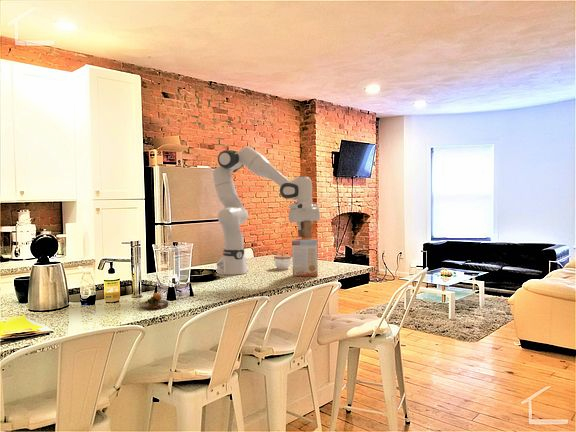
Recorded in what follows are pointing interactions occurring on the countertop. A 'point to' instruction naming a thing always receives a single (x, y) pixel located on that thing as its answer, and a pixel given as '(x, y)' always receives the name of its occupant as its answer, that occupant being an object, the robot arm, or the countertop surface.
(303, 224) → the walnut block
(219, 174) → the robot arm
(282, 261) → the lidded jar
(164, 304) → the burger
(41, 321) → the countertop surface
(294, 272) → the cracker box
